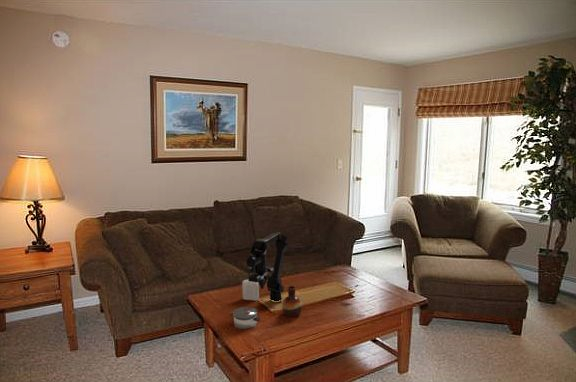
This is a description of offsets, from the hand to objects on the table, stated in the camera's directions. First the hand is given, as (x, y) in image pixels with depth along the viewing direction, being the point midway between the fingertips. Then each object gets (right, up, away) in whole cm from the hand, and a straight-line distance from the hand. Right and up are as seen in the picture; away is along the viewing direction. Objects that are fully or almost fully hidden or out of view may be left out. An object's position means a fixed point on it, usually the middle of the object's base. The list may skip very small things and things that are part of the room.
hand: (262, 288), depth 223 cm
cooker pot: (-8, -15, -13) cm, 22 cm away
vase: (+17, -13, -4) cm, 22 cm away
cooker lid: (-8, -10, -14) cm, 19 cm away
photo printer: (-8, -11, +18) cm, 23 cm away
